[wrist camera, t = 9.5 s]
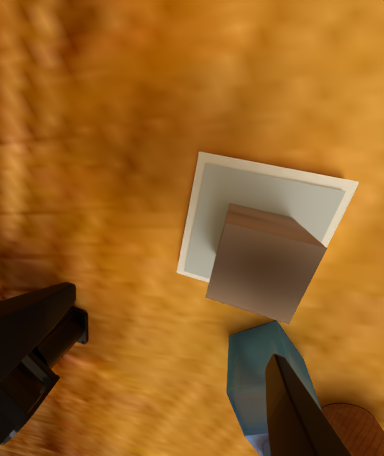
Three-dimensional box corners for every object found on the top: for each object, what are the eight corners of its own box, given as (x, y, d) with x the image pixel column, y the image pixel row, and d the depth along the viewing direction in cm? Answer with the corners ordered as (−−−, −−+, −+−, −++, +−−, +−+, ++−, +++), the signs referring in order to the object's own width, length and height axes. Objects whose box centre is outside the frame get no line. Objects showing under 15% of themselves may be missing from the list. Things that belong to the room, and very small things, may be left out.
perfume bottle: (303, 359, 21) (378, 571, 10) (255, 371, 23) (272, 554, 12) (276, 320, 20) (323, 501, 9) (229, 335, 23) (221, 497, 11)
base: (289, 295, 19) (297, 313, 17) (181, 263, 21) (175, 275, 19) (344, 180, 15) (364, 182, 13) (203, 153, 17) (197, 150, 14)
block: (270, 270, 16) (288, 324, 10) (215, 254, 17) (205, 297, 11) (291, 217, 14) (327, 248, 9) (229, 202, 15) (225, 222, 10)
